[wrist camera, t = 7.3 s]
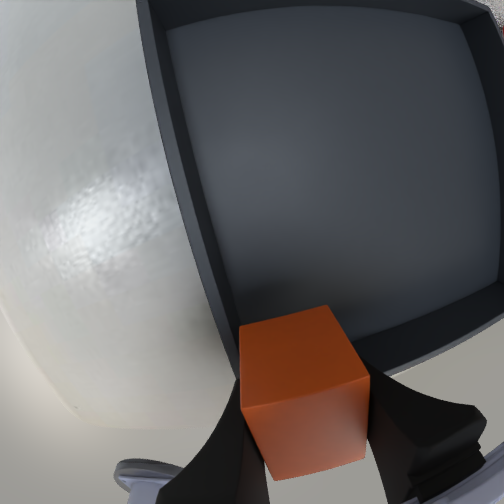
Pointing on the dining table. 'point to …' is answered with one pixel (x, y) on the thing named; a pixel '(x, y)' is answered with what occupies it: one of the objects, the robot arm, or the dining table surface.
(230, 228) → the bin
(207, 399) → the dining table surface
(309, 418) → the orange block
